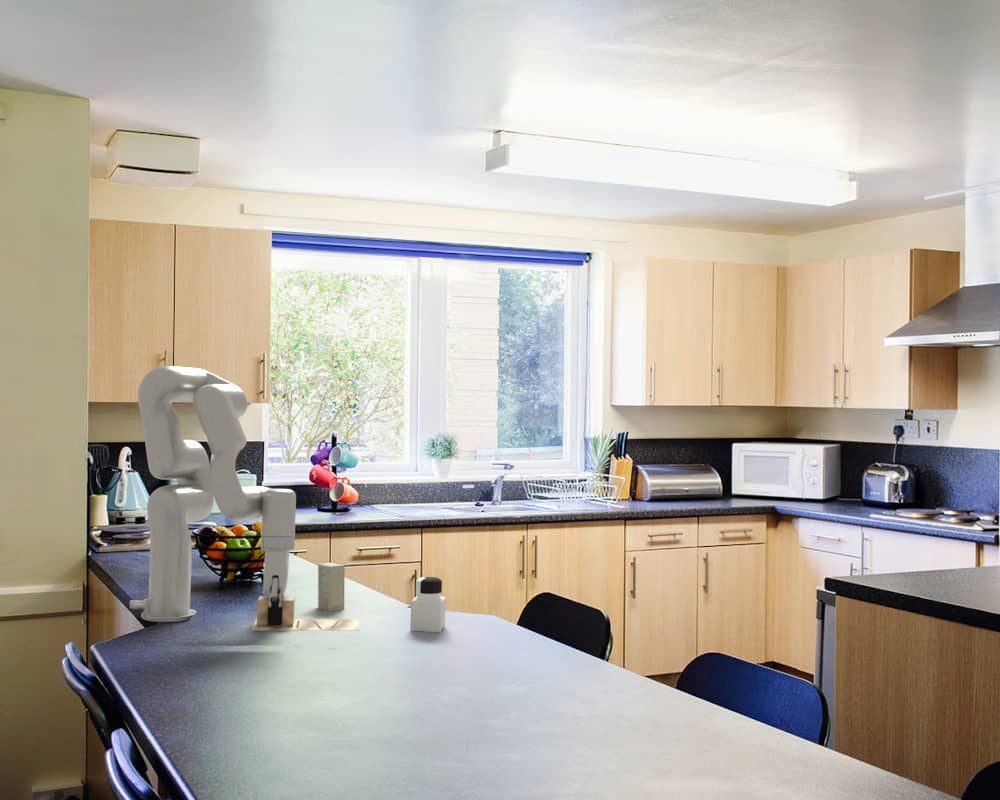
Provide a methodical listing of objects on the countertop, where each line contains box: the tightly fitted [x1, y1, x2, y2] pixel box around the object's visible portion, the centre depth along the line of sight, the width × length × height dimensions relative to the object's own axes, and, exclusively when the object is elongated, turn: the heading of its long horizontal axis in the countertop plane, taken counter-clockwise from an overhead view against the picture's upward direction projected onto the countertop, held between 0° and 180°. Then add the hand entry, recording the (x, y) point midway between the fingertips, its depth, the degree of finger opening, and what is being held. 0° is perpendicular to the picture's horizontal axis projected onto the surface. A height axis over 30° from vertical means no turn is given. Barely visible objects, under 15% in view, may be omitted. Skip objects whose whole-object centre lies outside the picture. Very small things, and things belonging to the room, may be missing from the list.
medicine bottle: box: [409, 576, 447, 633], centre depth 247 cm, size 7×7×12 cm
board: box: [250, 618, 360, 631], centre depth 242 cm, size 24×12×1 cm, turn 98°
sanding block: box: [256, 595, 296, 627], centre depth 241 cm, size 8×5×6 cm, turn 98°
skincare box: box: [317, 562, 345, 612], centre depth 263 cm, size 6×4×12 cm
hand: (275, 621), depth 241 cm, fingers closed on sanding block, 5 cm apart
